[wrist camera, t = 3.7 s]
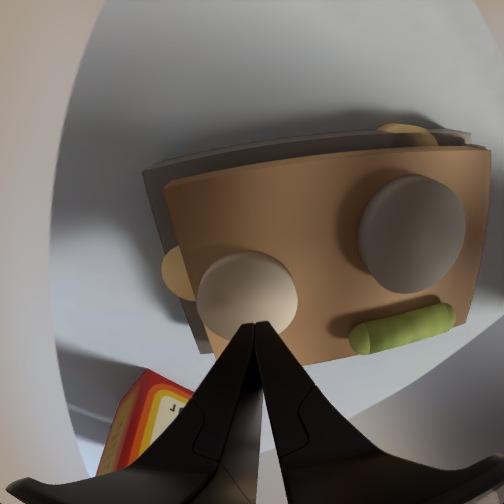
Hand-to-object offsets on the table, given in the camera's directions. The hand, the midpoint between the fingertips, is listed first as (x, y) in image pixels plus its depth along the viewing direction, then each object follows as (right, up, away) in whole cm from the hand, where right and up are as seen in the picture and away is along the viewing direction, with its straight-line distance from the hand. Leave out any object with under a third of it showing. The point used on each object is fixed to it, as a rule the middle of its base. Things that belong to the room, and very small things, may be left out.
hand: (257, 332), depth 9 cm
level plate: (+4, +3, +3) cm, 6 cm away
